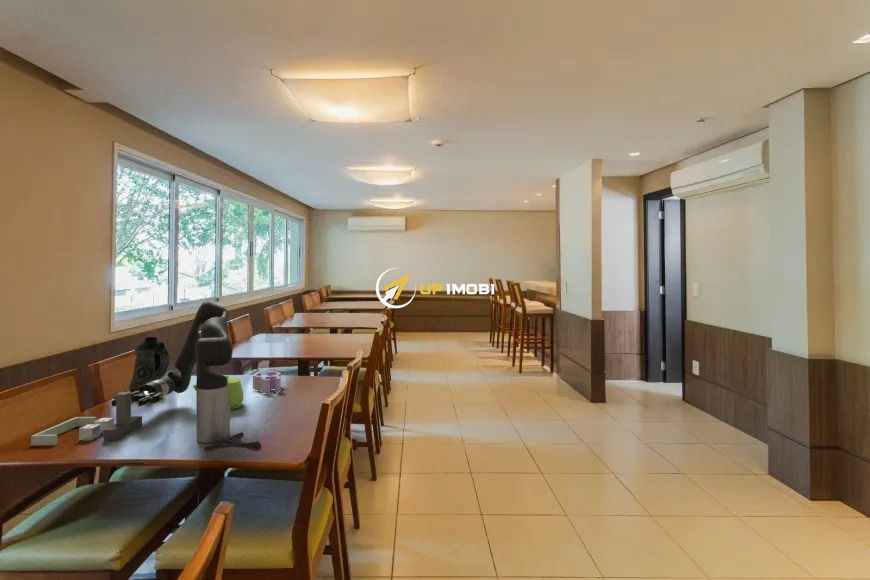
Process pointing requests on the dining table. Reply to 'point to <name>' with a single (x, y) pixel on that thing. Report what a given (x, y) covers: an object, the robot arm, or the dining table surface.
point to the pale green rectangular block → (59, 430)
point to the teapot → (233, 392)
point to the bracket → (234, 443)
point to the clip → (267, 382)
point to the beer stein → (149, 362)
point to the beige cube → (105, 423)
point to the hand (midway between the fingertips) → (126, 403)
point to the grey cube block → (90, 432)
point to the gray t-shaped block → (122, 419)
